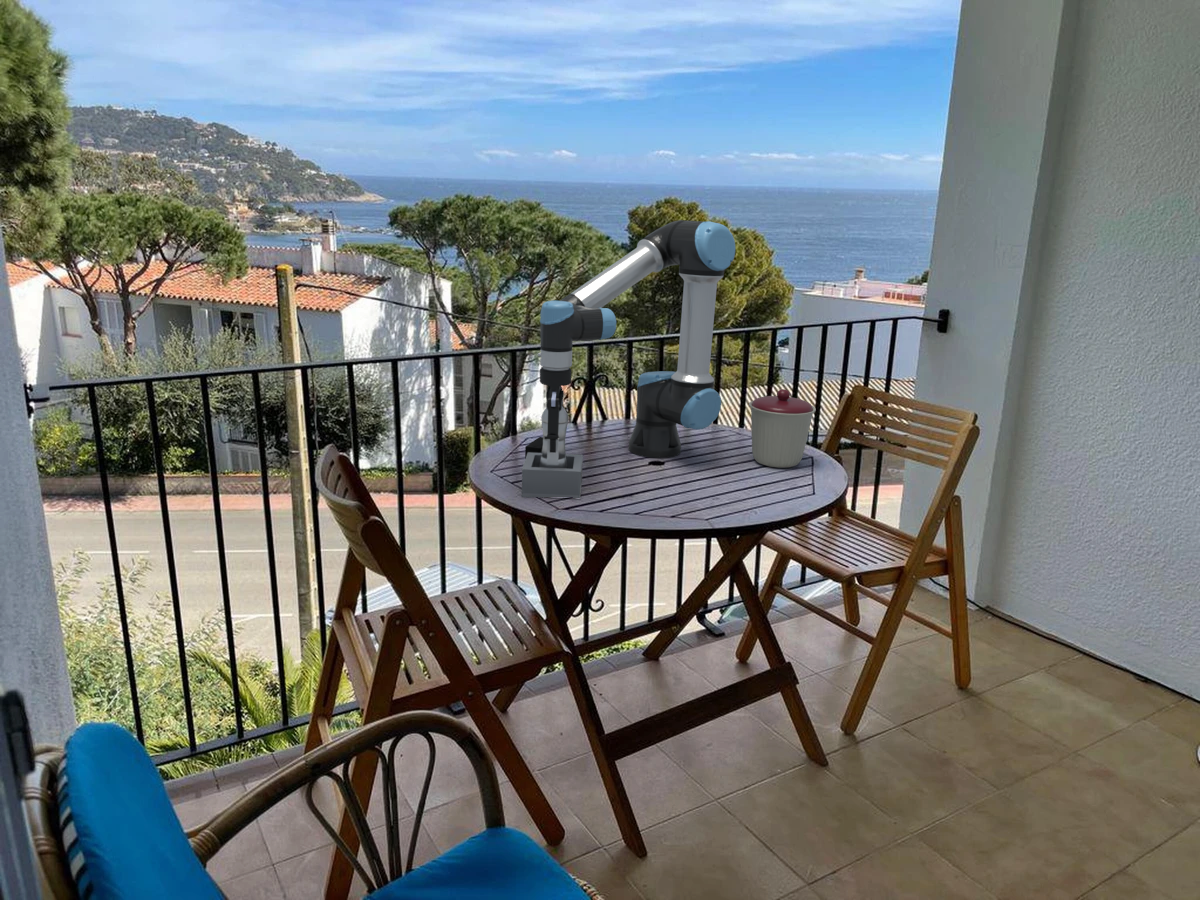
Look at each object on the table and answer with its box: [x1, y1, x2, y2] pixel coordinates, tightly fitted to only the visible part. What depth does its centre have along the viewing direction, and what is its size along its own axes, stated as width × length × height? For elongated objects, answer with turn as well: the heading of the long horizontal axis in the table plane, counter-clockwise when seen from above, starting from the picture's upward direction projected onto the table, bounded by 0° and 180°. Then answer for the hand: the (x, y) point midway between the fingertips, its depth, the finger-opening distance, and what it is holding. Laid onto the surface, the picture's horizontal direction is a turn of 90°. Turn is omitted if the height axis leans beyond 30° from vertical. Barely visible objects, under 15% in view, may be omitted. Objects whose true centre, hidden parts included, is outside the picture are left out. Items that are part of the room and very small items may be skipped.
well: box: [521, 452, 584, 499], centre depth 209 cm, size 14×14×7 cm
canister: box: [748, 388, 817, 469], centre depth 236 cm, size 18×18×21 cm
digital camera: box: [524, 436, 543, 460], centre depth 226 cm, size 10×5×7 cm, turn 163°
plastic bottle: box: [540, 398, 569, 469], centre depth 207 cm, size 6×7×20 cm
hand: (553, 459), depth 208 cm, fingers closed on plastic bottle, 6 cm apart
